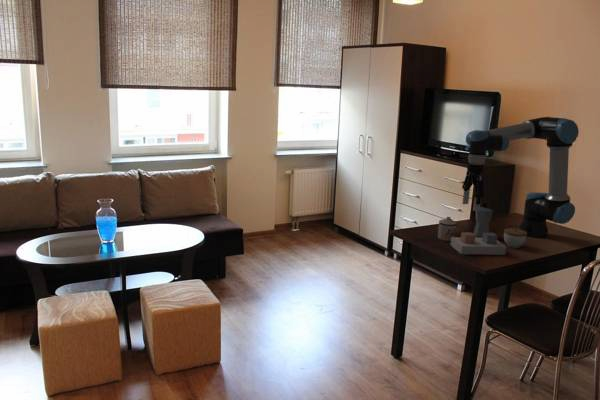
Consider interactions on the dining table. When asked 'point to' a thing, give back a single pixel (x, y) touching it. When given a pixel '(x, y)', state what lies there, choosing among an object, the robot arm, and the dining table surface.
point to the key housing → (478, 247)
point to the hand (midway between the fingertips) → (470, 207)
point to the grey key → (489, 238)
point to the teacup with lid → (447, 229)
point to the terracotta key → (468, 238)
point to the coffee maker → (482, 220)
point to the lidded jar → (514, 237)
